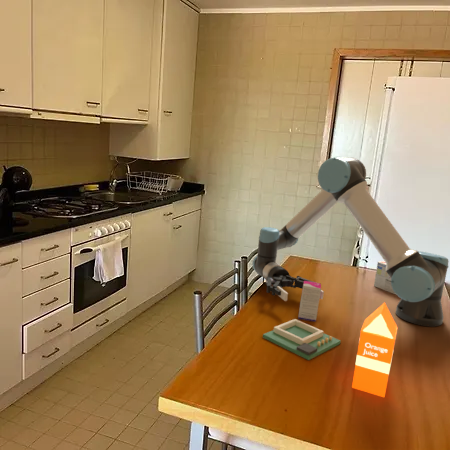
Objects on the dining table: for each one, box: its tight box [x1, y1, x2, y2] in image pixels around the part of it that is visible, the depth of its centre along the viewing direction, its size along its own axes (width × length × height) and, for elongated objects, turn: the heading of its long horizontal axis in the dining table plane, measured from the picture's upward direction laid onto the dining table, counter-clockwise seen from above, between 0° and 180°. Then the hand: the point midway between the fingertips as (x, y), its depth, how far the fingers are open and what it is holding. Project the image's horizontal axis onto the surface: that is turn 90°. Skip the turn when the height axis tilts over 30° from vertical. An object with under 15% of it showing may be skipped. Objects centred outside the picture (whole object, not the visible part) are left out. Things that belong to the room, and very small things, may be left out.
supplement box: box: [297, 281, 322, 322], centre depth 144 cm, size 6×6×12 cm
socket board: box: [262, 318, 342, 361], centre depth 128 cm, size 16×16×2 cm
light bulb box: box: [373, 260, 396, 295], centre depth 180 cm, size 11×7×11 cm, turn 34°
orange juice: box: [351, 301, 398, 398], centre depth 106 cm, size 8×9×20 cm
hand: (304, 296), depth 146 cm, fingers open, 13 cm apart
